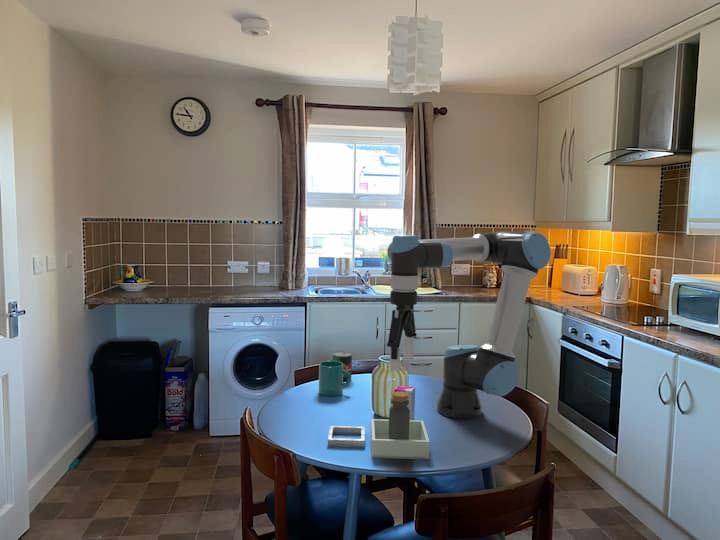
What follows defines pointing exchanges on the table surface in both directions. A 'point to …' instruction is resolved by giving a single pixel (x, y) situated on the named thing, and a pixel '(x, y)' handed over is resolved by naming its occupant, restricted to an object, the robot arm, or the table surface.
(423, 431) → the bin
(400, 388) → the supplement box
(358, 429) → the collar
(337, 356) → the canned tomato
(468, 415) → the robot arm
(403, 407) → the bottle
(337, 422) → the table surface
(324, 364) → the cup
